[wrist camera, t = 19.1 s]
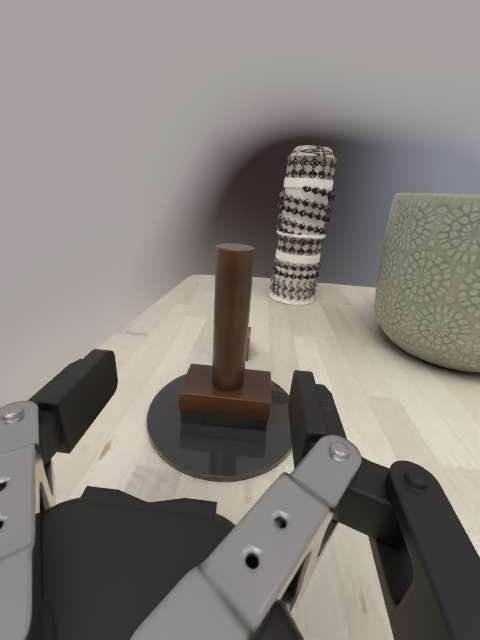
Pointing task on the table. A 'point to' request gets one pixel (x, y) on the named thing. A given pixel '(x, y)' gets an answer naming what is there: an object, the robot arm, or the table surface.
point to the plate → (218, 439)
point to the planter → (432, 278)
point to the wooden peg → (228, 354)
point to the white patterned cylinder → (302, 223)
